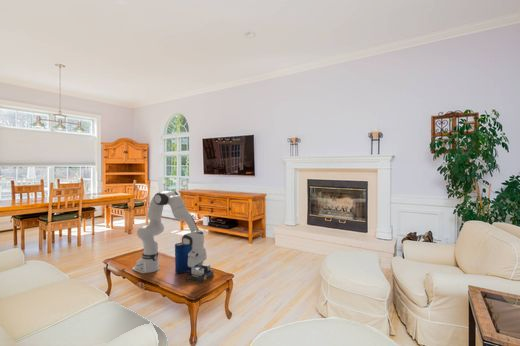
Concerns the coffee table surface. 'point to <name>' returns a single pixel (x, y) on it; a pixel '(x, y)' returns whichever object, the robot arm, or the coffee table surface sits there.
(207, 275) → the rack
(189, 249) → the book
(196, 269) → the block
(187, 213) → the robot arm
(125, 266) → the coffee table surface
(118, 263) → the coffee table surface
